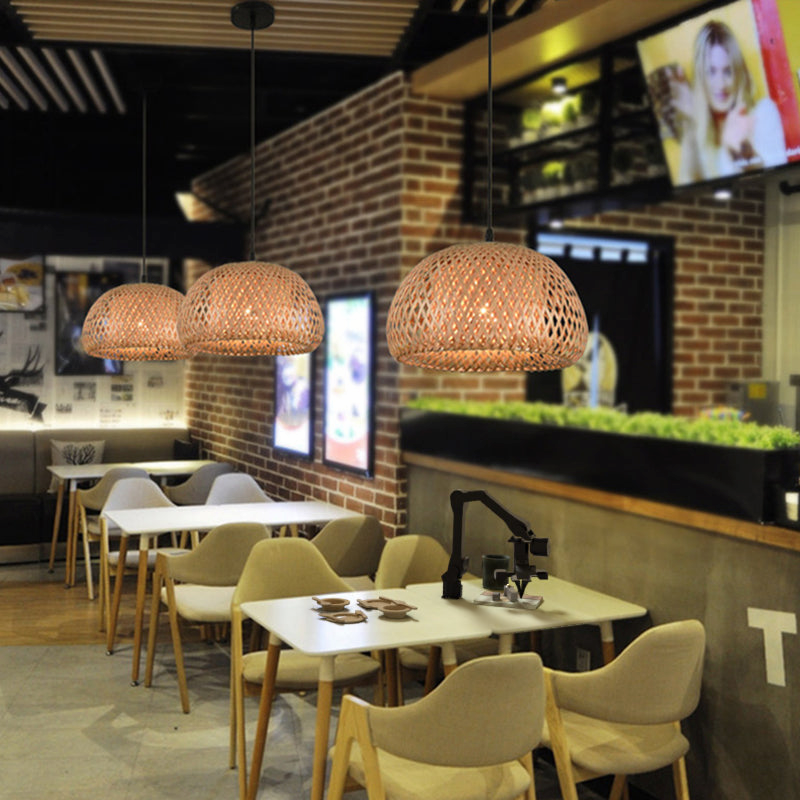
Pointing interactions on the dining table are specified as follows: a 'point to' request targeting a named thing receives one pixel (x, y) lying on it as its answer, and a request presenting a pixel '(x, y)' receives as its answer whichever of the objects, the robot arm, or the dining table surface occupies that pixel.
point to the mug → (488, 568)
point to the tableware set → (382, 604)
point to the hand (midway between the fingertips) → (520, 598)
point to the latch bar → (511, 592)
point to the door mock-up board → (508, 600)
